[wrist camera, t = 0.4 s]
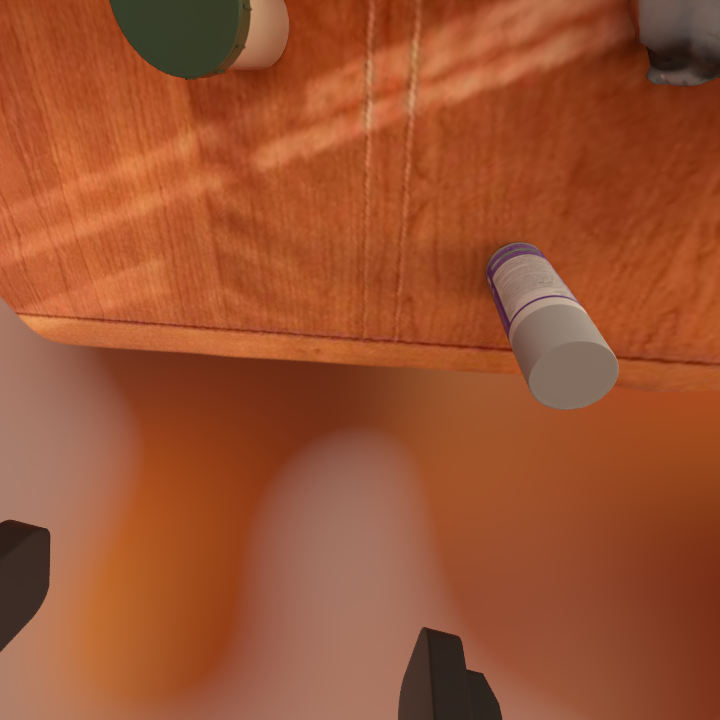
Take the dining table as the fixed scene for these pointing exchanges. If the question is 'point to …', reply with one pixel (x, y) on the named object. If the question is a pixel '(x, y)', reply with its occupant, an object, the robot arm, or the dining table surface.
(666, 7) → the lucky cat figurine
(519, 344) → the container
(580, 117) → the dining table surface
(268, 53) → the jar
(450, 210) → the dining table surface
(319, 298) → the dining table surface
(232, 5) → the lid
